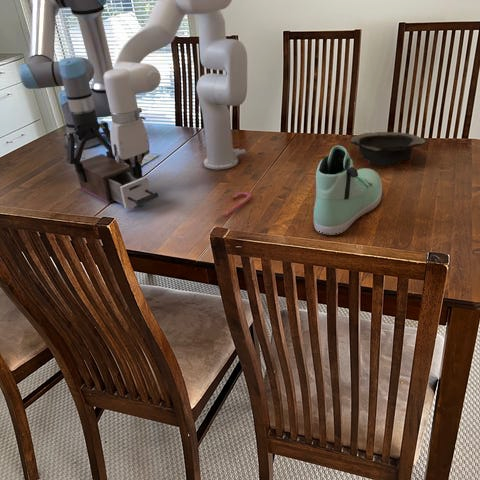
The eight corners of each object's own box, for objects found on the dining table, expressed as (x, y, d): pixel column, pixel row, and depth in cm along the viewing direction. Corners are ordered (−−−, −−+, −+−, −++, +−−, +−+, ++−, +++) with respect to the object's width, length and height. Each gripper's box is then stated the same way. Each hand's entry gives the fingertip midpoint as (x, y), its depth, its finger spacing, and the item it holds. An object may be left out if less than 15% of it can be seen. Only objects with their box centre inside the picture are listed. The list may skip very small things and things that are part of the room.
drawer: (162, 204, 148) (159, 182, 144) (137, 215, 142) (133, 193, 138) (122, 185, 162) (117, 164, 158) (98, 194, 157) (93, 173, 153)
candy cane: (211, 213, 142) (210, 209, 141) (240, 193, 152) (239, 189, 151) (227, 218, 139) (226, 213, 138) (255, 197, 149) (255, 193, 148)
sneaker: (389, 187, 148) (396, 123, 138) (356, 242, 123) (361, 168, 112) (346, 181, 154) (350, 119, 144) (306, 232, 129) (307, 161, 118)
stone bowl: (383, 178, 153) (383, 150, 149) (335, 160, 174) (334, 135, 169) (439, 159, 162) (442, 132, 158) (387, 144, 182) (388, 120, 178)
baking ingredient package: (116, 165, 178) (140, 152, 189) (116, 167, 178) (140, 153, 189) (135, 168, 174) (158, 154, 186) (135, 169, 174) (158, 155, 186)
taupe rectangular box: (136, 192, 158) (130, 166, 154) (108, 204, 153) (102, 177, 148) (107, 178, 170) (101, 153, 165) (81, 189, 164) (74, 163, 159)
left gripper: (108, 100, 159) (121, 162, 170) (43, 118, 146) (62, 184, 157) (120, 103, 154) (133, 167, 166) (54, 122, 141) (73, 190, 153)
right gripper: (140, 107, 139) (150, 166, 149) (94, 121, 131) (108, 182, 140) (155, 111, 135) (165, 172, 144) (109, 126, 126) (122, 189, 136)
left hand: (98, 175), depth 162 cm, fingers closed on taupe rectangular box, 10 cm apart
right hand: (137, 177), depth 142 cm, fingers closed
